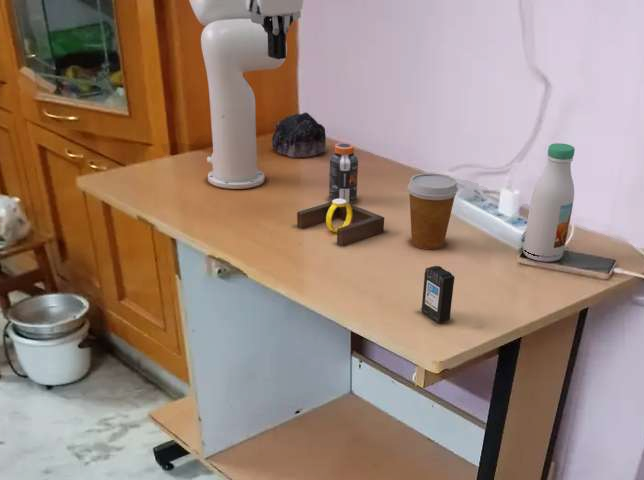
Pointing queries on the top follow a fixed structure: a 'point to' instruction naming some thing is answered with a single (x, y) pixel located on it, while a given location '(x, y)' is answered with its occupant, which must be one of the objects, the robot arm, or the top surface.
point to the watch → (333, 207)
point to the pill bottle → (343, 173)
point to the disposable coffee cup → (430, 208)
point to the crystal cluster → (299, 136)
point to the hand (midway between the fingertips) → (277, 57)
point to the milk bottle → (551, 206)
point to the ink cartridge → (437, 293)
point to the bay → (361, 219)
